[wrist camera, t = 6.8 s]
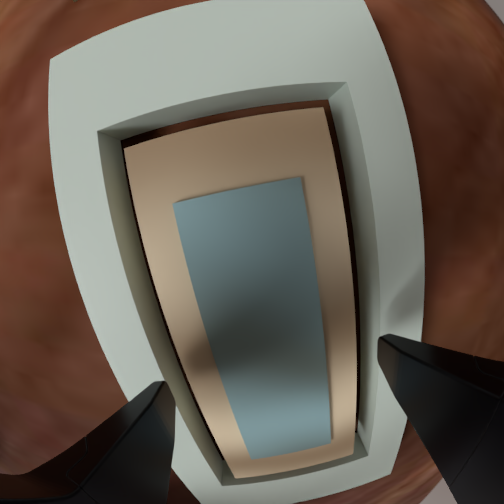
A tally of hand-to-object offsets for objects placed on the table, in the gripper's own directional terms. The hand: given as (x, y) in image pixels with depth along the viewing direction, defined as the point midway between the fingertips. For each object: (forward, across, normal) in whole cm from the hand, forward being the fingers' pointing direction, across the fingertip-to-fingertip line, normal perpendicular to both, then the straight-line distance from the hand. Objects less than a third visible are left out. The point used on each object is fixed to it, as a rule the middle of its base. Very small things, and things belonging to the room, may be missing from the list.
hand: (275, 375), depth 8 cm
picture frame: (+4, 0, 0) cm, 4 cm away
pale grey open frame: (+3, 0, 0) cm, 3 cm away
